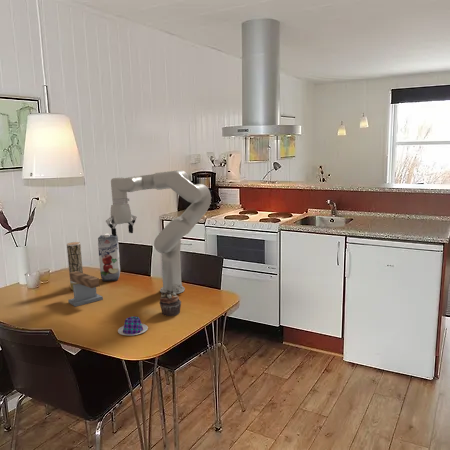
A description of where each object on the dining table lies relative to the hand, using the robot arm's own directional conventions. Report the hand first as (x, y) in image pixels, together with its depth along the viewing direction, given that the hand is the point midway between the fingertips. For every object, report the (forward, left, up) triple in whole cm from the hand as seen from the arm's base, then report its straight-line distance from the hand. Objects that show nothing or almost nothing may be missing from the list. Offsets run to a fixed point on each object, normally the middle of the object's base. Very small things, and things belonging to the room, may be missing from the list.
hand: (122, 234), depth 225 cm
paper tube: (+19, +19, -30) cm, 40 cm away
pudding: (-51, +25, -30) cm, 65 cm away
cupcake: (-46, +3, -30) cm, 55 cm away
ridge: (-3, +24, -29) cm, 38 cm away
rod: (-3, +24, -20) cm, 32 cm away
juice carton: (+22, -2, -30) cm, 37 cm away
